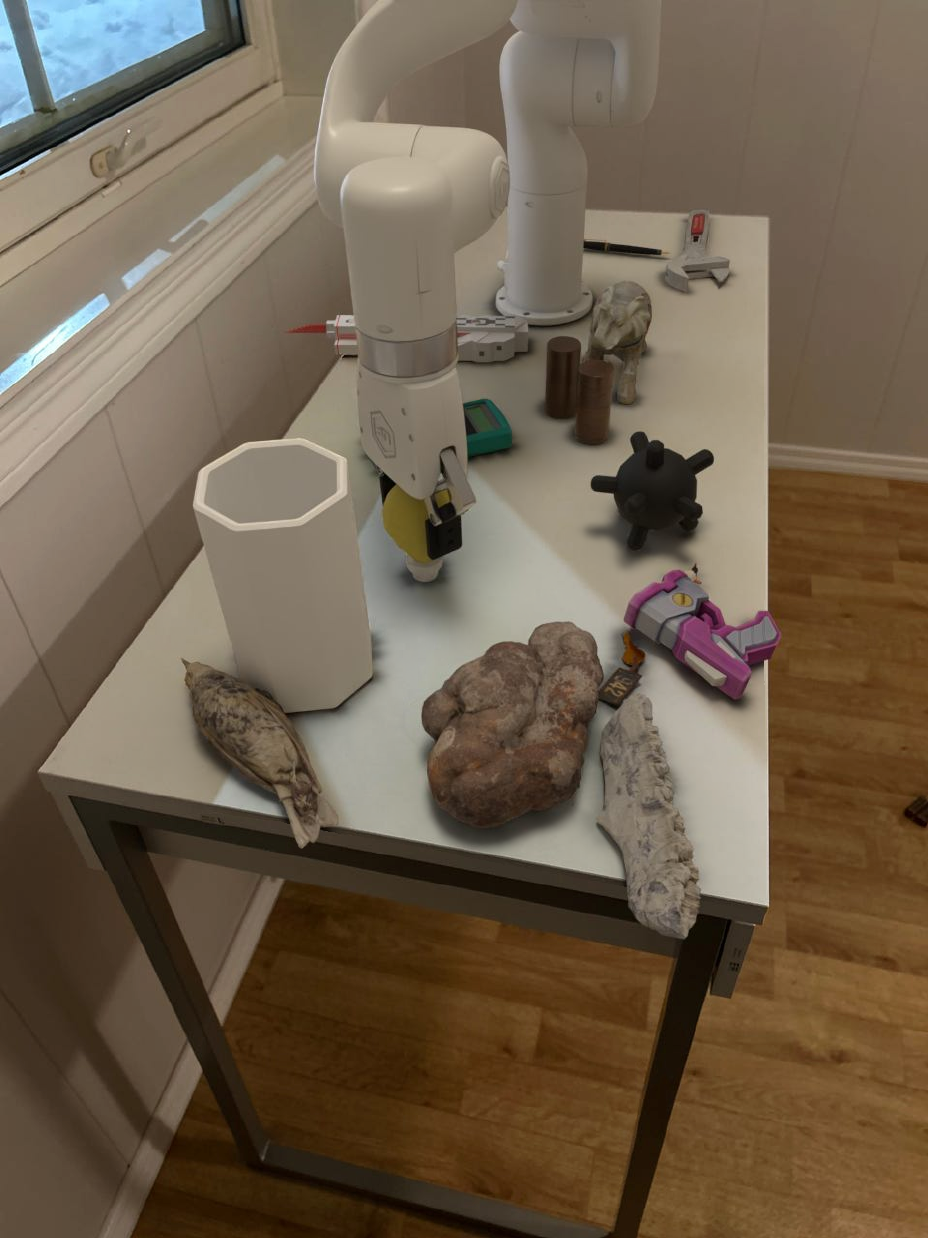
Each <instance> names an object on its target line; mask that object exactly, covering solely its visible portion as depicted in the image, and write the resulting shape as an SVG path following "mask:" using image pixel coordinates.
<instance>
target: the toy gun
mask: <svg viewBox="0 0 928 1238" xmlns="http://www.w3.org/2000/svg"><path fill="white" fill-rule="evenodd" d="M684 572H685V571H683V570H681V569H672V570H670V571H668V572H667V573H666V574H664V575H663V576H662V580H661V582H657V581H653V582H651V583H650V584H648V585H647V586H646V587H644V588H642V589H641V590H639V591H637V592H636V593H635V594H634V595H633V596H632V597H631V599H629V601H628V603H627V607H626V610H625V612H624V613H625V614H624V617H623V622H624V624H626V625H628V626H629V627H630V628H632V629H633V630H635V629H637V630H638V631H639V632H641V633H642V634H643V635H645V636H646V637H648V638H649V639H650V640H652V641H654V642H655V643H656V644H658V645H659V644H662V645H664V646H665V647H666V648H668V649H669V650H670V651H672V653H673V655H674V657H675V658H676V659H677V660H679V662H681V663H682V664H684V665H685V666H686V667H688V668H690V670H692V671H694V672H695V673H697V674H698V675H699V676H701V677H702V678H703V679H704V680H705V681H706V682H707V683H708V684H710V685H711V686H712V687H716V688H718V689H719V690H720V691H722V692H723V693H725V694H726V695H727V696H728V697H730V698H731V699H733V700H739V699H740V698H741V697H743V694H744V692H745V690H746V688H747V686H748V684H749V681H750V679H751V678H752V676H753V675H752V670H751V667H750V666H751V665H754V664H758V663H761V662H765V661H768V660H771V658H772V656H773V654H774V652H775V650H776V648H777V646H778V644H779V641H780V639H781V637H782V633H781V631H780V630H779V628H778V626H777V624H776V622H775V621H774V619H773V618H772V615H771V613H770V611H769V610H757V613H756V615H755V617H754V618H753V620H750V621H748V622H746V623H743V624H740V625H738V626H733V625H730V624H726V621H725V619H724V616H723V613H722V611H721V608H720V607H718V606H717V605H716V604H714V603H713V602H712V601H711V600H709V598H710V596H709V594H708V592H707V591H705V590H704V589H703V588H702V587H700V586H699V584H697V583H696V582H694V581H692V580H691V579H690V578H689V577H688V575H687V574H686V573H684Z"/></svg>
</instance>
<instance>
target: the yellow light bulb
mask: <svg viewBox="0 0 928 1238" xmlns="http://www.w3.org/2000/svg"><path fill="white" fill-rule="evenodd" d="M438 481H440V480H439V479H438ZM435 498H436V501H437V504H438V508H440V507H441V506H443V505H444V504H446V503H449V502H450V499H449V496H448V493H447V489H446V490H443V491H441V492H438V493H436V494H435ZM427 519H429V515H428V512H427V508H426V505H425V502H424V499H422V500H419V499H416V498H414V497H412V496H410V495H409V494H408V493H406V492H405V491H404V490H403V489H402V488H401V487H399V486H398V485H397V484H396V485H395V486H394V487H393V488H392V489H391V490H390V491H389V493H388V494H387V497H386V499H385V502H384V504H383V507H382V509H381V520H382V525H383V529H384V531H386V533H387V534H388V536H389V537H390V538H391V540H392V541H393V542H394V543H395V544H396V546H397V547H398V548H399V549H400V550H402V552H404V553H405V554H406V555H405V560H406V569H408V571H409V572H410V573H411V574H412V577H413V579H414V580H416V581H417V582H421V583H430V582H431V581H434V580H435V579H437V577H438V575H439V571H440V570H441V569H442V566H443V556H442V557H440V558H438V559H435V560H431V559H430V558H429V557H428V555H427V543H426V530H425V520H427Z"/></svg>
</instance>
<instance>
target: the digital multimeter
mask: <svg viewBox="0 0 928 1238" xmlns="http://www.w3.org/2000/svg"><path fill="white" fill-rule="evenodd" d="M462 403H463V410H464V419H465V429H466V440H467V458H470V457H475V456H479V455H484V454H488V453H493V452H497V451H501V450H502V451H503V450H507V449H509V448H511V447H512V446H513V429H512V427H511V425H510V423H509V421H508V420H507V417H506V416H505V414H504V413H503V412H502V410H501V409H500V408H499V407H498V406H497V404H496V403H494V401H493V400H492V399H490V398H480V399H475V400H471V401H466V402H462ZM372 462H373V461H372ZM373 464H374V465H375V463H374V462H373Z"/></svg>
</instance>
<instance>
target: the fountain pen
mask: <svg viewBox="0 0 928 1238" xmlns="http://www.w3.org/2000/svg"><path fill="white" fill-rule="evenodd" d="M584 249H585V250H591V251H598V252H606V253H609V252H613V253H622V254H632V255H633V254H634V255H646V256H662V255H668V254H669V255H670V254H671V252H669V251H663V250H662V249H658V248H651V247H644V246H637V245H629V244H622V243H621V244H620V243H612V242H608V241H607V239H594V238H584V245H583V250H584Z"/></svg>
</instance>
